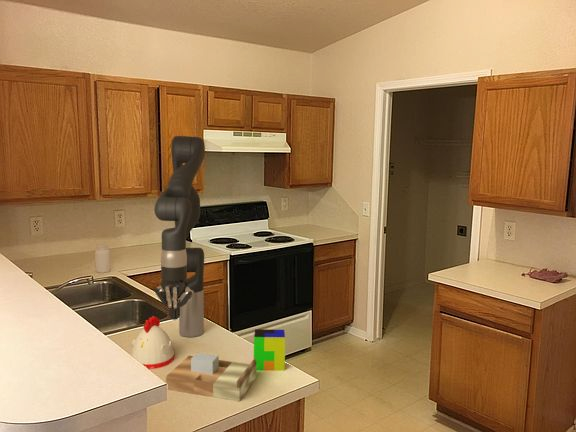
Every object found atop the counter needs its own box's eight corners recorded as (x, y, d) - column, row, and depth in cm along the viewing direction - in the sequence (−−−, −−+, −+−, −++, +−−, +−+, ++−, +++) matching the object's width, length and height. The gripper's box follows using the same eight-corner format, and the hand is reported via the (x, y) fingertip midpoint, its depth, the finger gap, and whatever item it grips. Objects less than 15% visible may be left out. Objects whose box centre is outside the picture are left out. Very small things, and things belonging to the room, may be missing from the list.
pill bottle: (92, 272, 266) (91, 245, 264) (100, 269, 274) (99, 243, 272) (105, 273, 265) (105, 246, 263) (113, 269, 273) (112, 243, 271)
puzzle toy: (283, 357, 166) (284, 329, 164) (284, 370, 156) (285, 341, 154) (254, 357, 165) (255, 329, 164) (253, 370, 156) (253, 341, 154)
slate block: (197, 364, 150) (197, 352, 149) (218, 367, 148) (218, 355, 147) (191, 371, 145) (190, 358, 145) (212, 374, 144) (212, 361, 143)
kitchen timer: (122, 364, 157) (120, 320, 155) (147, 348, 170) (147, 307, 168) (158, 372, 153) (157, 327, 151) (181, 355, 166) (181, 313, 163)
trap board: (188, 367, 157) (188, 349, 156) (256, 377, 151) (256, 359, 150) (166, 389, 142) (165, 370, 141) (239, 401, 136) (239, 381, 136)
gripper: (199, 262, 146) (199, 317, 149) (160, 258, 150) (161, 312, 152) (188, 268, 139) (188, 325, 142) (147, 264, 142) (148, 320, 145)
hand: (174, 318), depth 147 cm, fingers closed
